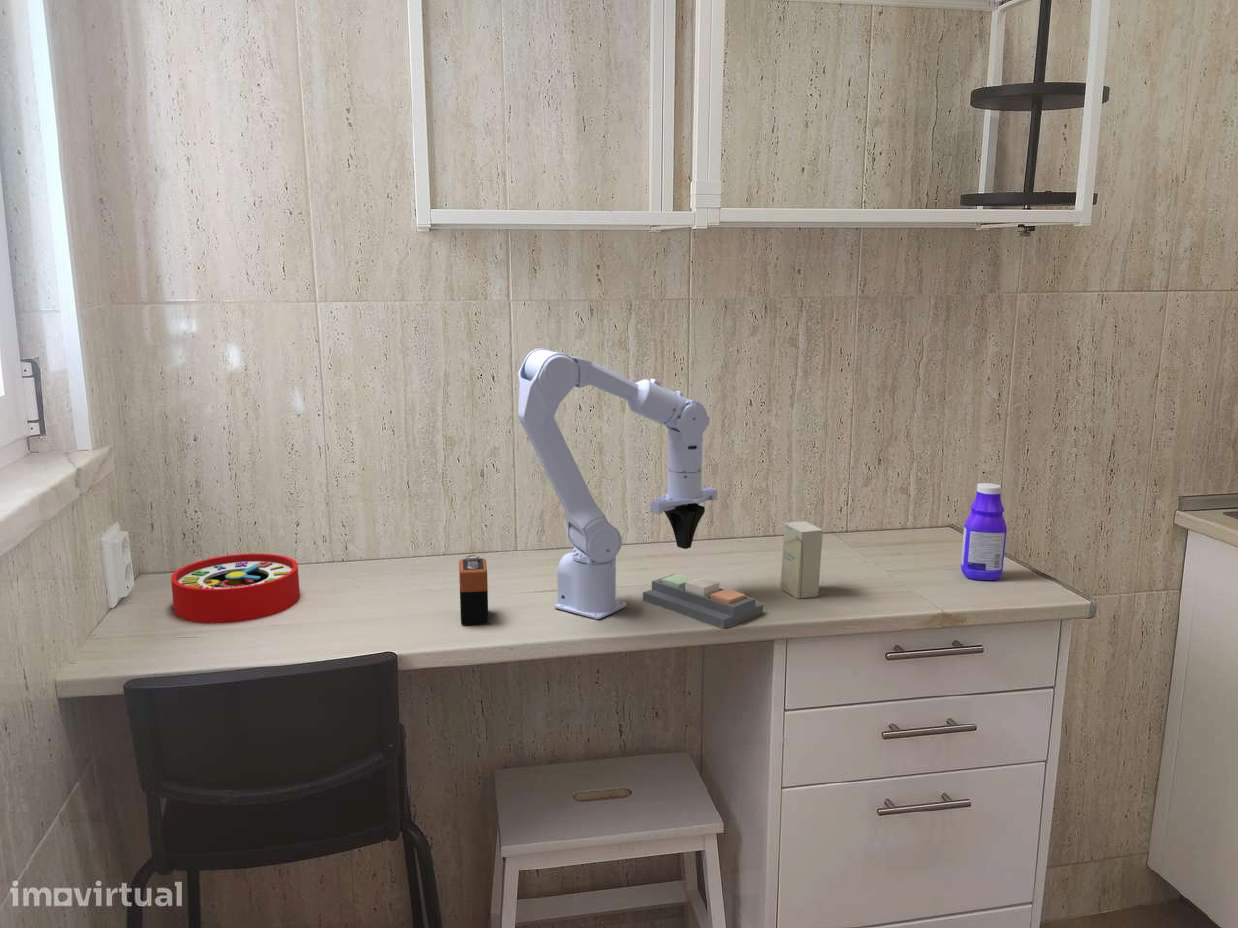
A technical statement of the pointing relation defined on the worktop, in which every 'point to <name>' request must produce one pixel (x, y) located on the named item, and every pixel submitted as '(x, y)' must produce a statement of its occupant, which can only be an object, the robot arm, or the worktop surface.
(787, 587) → the skincare box
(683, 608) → the button panel
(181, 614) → the toy clock
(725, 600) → the terracotta button
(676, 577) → the green button
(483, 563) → the battery
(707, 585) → the cream button
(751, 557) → the worktop surface
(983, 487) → the bottle
